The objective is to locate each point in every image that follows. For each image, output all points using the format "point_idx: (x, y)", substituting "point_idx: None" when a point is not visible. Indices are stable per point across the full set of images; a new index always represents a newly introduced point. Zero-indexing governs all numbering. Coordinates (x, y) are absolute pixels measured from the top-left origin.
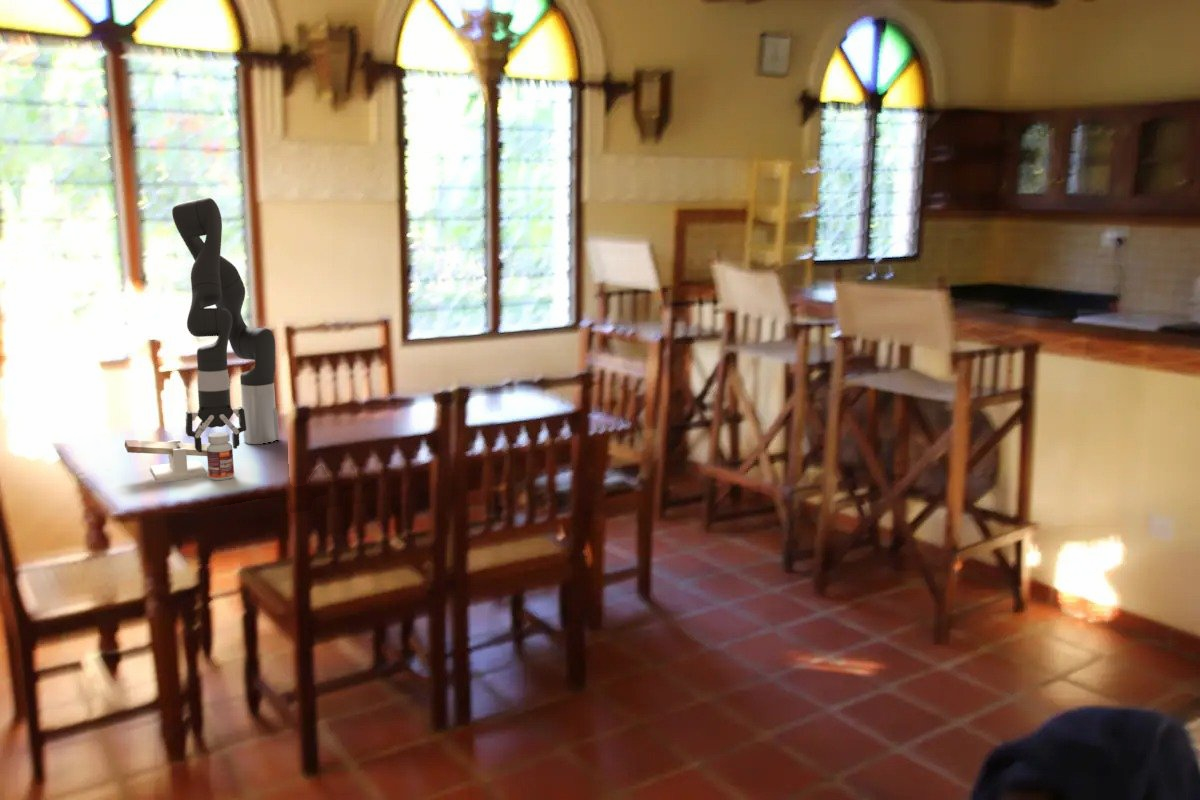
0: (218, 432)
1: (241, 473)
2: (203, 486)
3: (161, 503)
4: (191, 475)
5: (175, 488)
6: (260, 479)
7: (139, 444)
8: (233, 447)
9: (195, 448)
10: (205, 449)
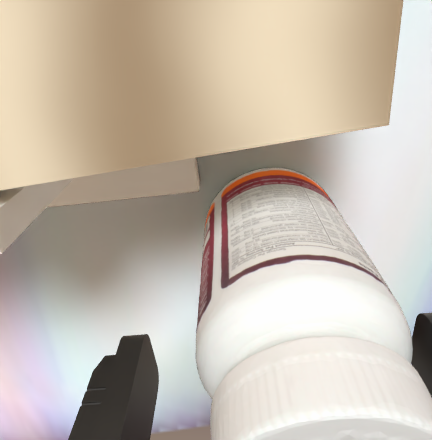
0: (362, 418)
1: (381, 181)
2: (180, 324)
3: (56, 435)
4: (113, 198)
5: (67, 315)
6: (424, 307)
7: None
8: (416, 331)
9: (101, 363)
10: (186, 115)
